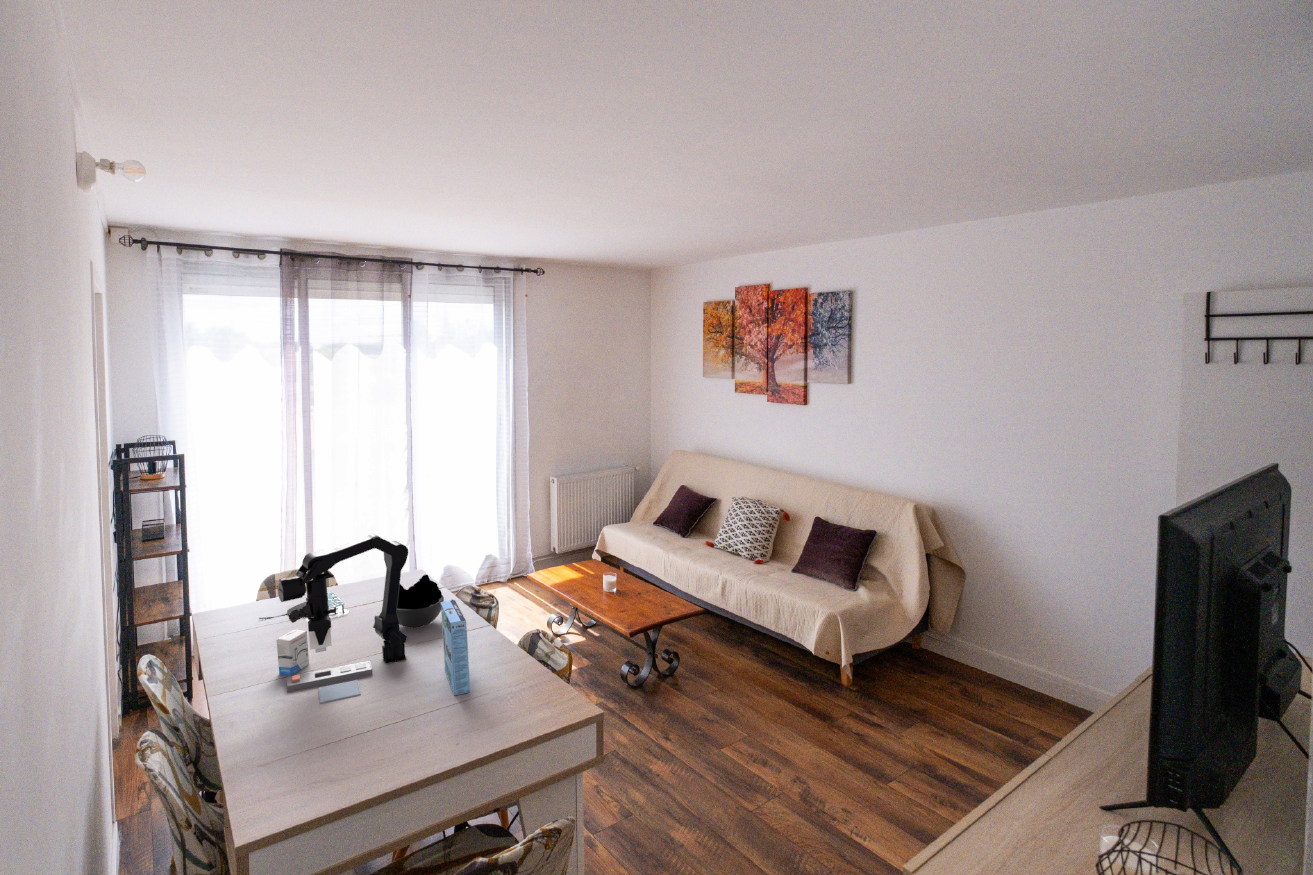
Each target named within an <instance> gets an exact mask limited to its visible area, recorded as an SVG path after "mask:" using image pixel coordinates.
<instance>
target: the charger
mask: <svg viewBox="0 0 1313 875" xmlns="http://www.w3.org/2000/svg"><path fill="white" fill-rule="evenodd" d="M331 632H332V631H331V628H329V630H328V632H327V635H326V637H325V640H324V643H323V645H319V644H318V641H317V638H316V635H315V632H314V631H312V632H310V631H309V630H308V637H309V638H308V639H309V640H308V641H309V650H310V651H311V650H315V653H316V654H317V653H322V652H327V648H328V647H332V635H331V634H332V633H331Z"/></svg>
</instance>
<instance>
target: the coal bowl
mask: <svg viewBox="0 0 1313 875" xmlns="http://www.w3.org/2000/svg"><path fill="white" fill-rule="evenodd" d="M441 602H445V598H444V595H443V594H442V591H441V589H440V588H439V586H438V583H437V582H435V581H433V580H431V579H430V576H429V575H428V574H423V575H422V576H421V577H420V578H419V579H418V581H417V582H416V583H414V584H413V585H411V586H410V587H408V589H406V588H404V586H403V585H402V584H401V583H400V586H399V595H398V604H397V616H398V620H399V626H402V627H405V628H408V629H420V628H424V627H426V626H427V625H429V624H431V623H432V622H434V621H435V619H437V617H438V616H439V614H440V613H441Z"/></svg>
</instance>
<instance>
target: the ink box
mask: <svg viewBox="0 0 1313 875" xmlns="http://www.w3.org/2000/svg"><path fill="white" fill-rule="evenodd" d="M308 646H309V644H308V632H307V630H300V629H292V630H291V631H289V632H287V633H285V634H283V635H281V636H280V637H277V639H276V650H277V662H278V664H277V665H278V674H279V675H285V676H293V675H296V673H298V672H299V671H301V670H303V669H304V668H305V667H307V666H308V665H309V664H310V658H309V647H308Z"/></svg>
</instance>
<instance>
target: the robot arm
mask: <svg viewBox="0 0 1313 875" xmlns="http://www.w3.org/2000/svg"><path fill="white" fill-rule="evenodd" d="M374 549H376V550H378V551H381V552H382V553H383V560H384V564H385V568H386V569H385V570H386V572H385V580H384V590H383V599H382V607H381V612H380V614H379V615H374V623H373V626H372V628H374V632H375V633H376V634H377V635H378V636H379V637H380V638H381V639H382V640H383V645H382V646H381V651H382V652H381V653H382V656H381V657H382V659H383V661H384V662H385V664H390V663H396V662H401V661H406V660H407V656H406V646H405V643H406V641H407V639H408V636H407V635H406V634H405V633H404V632H402V631H400V630H401V629H400V624H399V620H398V616H397V604H398V595H399V586H400V584H401V575H402V569H403V568H404V566H405V565H406V563H407V560H408V556H409V548H408V547H407V546H406V545H404V544H403V543H400V542H398V541H396V540H390V541H389V540H386V539H384V538H382V537H380V536H379V535H377V534H375V533H371V534H368V535H367V536H365V537H361V538H359V539H356V540H354V541H351V542H348V543H346V544H343V545H340V546H338V547H334V548H332V549H326V550H325V549H323V550H322V549H321V550H317V551H316V550H315V551H311V552H309V553H307V554H305V555H304V557H303V559H302V564H301V566H300V567H299V569H298V570H297V571H296V573H295V576H291V577H286V578H285V577H284V578H280V579H279V583H278V586H277V587H278V588H277V596H278V598H279V599H278V600H279V601H280V602H281V603H285V602H290V601H294V600H297V599H301V598H303V597H305V595H306V597H305V601H303V602H301V603H298V604H297V605H295V606H292V607H290V608H288V609H287V611H286V614H287V615H286V616H287V617H288V619H289V620H290V622H291V623H292V624H293V623H296V622H297V621H299V620H301V619H304V617H305V616H306V615H307V618H308V620H309V621H307V625H308V626H307V627H308V628H307V630H308V632H309V631H310V632H312V631H314V632H315V635H316V638H317V641H318V644H319V645H323V643H324V640H325V637H326V635H327V632H328V630H329V628H330V629H332V620H331V619H332V618H330V617H329V606H328V600H329V599H328V595H327V593H328V585H327V584H328V583H327V579H328V580H329V579H333V578H334V577H335V576H334V575H333V574H332V573H331V572H329V571H328V570H330V569H332V568H333V567H334V566H335V565H336V564H337V565H338V563H340V562H343V561H344V560H347V559H350V558H352V557H355V556H358V555H361V554H362V553H366V552H368V551H371V550H374Z"/></svg>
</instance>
